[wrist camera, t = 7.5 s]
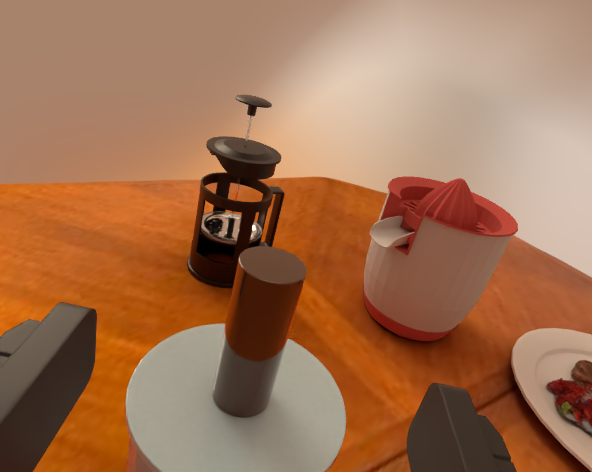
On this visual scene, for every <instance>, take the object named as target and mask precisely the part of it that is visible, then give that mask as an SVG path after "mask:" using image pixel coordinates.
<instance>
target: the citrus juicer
mask: <svg viewBox="0 0 592 472" xmlns="http://www.w3.org/2000/svg"><path fill="white" fill-rule="evenodd" d="M388 189H389V191H388V194H387V197H386V199H385V202H384V205H383V208H382V211H381V214H380V217H379V220H378V222H376V223H375V224H374V225H373V226H372V228H371V230H370V236H371V238H372V240H371V243H370V246H369V250H368V254H367V258H366V265H365V272H364V285H363V292H364V301H365V306H366V308H367V310H368V312H369V313H370V314H371V316H372V317H373V318H374V319H375V320H376V321H377V322H378V323H380V324H381V325H382V326H384V327H385V328H387V329H388V330H390V331H392V332H394V333H396V334H397V335H398V336H401V337H406V338H409V339H413V340H418V341H435V340H438V339H441V338H442V337H444V336H445V335H447V334H448V333H449V332H451V331H452V330H453V329H455V328H456V327H457V325H458V324H459V323H460V322H461V321H462V320H463V319H464V318H465V317H466V316H467V314H468V313H469V312H470V311H471V309H472V308H473V307H474V306H475V304H476V303H477V301H478V300H479V298H480V296H481V295H482V293H483V291H484V290H485V288H486V286H487V284H488V282H489V280H490V278H491V276H492V274H493V272H494V270H495V268H496V266H497V264H498V262H499V260H500V258H501V256H502V254H503V252H504V250H505V248H506V246H507V244H508V242H509V240H510V238H511V236H512V235H513V234H515V233H516V232H517V231H518V224H517V222H516V221H515V219H514V218H513V217H512V216H511V215H510V214H509V213H508V212H506V211H505V210H504V209H503V208H501V207H499V206H498V205H496V204H495V203H493V202H491V201H489V200H487V199H485V198H483V197H481V196H479V195H477V194H475V193H472V192H471V191H470V189H469V187H468V185H467V183H466V182H465V180H463V179H460V178H459V179H455V180H453V181H450V182H448V183H444V182H440V181H436V180H431V179H425V178H420V177H398V178H395V179H392V181H390V183H389V184H388Z"/></svg>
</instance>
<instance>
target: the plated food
mask: <svg viewBox="0 0 592 472" xmlns="http://www.w3.org/2000/svg"><path fill="white" fill-rule="evenodd" d="M511 365H512V369H513V373H514V377H515V380H516V382H517V384H518V386H519V388H520V390H521V392H522V394H523V396H524V398H525V400H526V401H527V403H528V404H529V406H530V407H531V408H532V410H533V411H534V413H535V414H536V415H537V417H538V418H539V420H540V421H541V422H542V423H543V425H544V426H545V427H546V428H547V429H548V430H549V431H550V432H551V433H552V434H553V436H554V437H555V438H556V439H557V440H558V441H559V442H560V443H561V444H562V446H563V447H564V448H566V449H567V450H568V451H569V452H570V453H571V454H572V455H573V456H574V457H575V458H577V459H578V460H579V461H580V462H581V463H582V464H583V465H584V466H585V467H586V468H588V469H589V470H590V471H591V472H592V335H591V334H586V333H582V332H578V331H574V330H567V329H558V328H546V329H537V330H534V331H530V332H527V333H526V334H524V335H523V336H521V337H520V338H519V339H518V340H517V342H516V344H515V346H514V348H513V349H512V356H511Z"/></svg>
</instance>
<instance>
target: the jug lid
mask: <svg viewBox="0 0 592 472" xmlns="http://www.w3.org/2000/svg"><path fill="white" fill-rule="evenodd" d="M305 276H306V267H305V265H304V263H303V262H302V261H301V260H300V259H299V258H298V257H296V256H295V255H293V254H291V253H289V252H287V251H285V250H282V249H278V248H274V247H267V246H257V247H252V248H248V249H246V250H244V251H243V252H242V253H241V254H240V256H239V259H238V264H237V269H236V274H235V279H234V284H233V289H232V294H231V299H230V304H229V308H228V313H227V318H226V323H225V324H210V325H203V326H198V327H194V328H190V329H187V330H184V331H181V332H179V333H177V334H174V335H172V336H170V337H168V338H167V339H165V340H163V341H162V342H160V343H159V344H157V345H156V346H155V347H154V348H153V349H151V350H150V351H149V352H148V353H147V354H146V355H145V356H144V357H143V359H142V360H141V361H140V363H139V364H138V366H137V367H136V368H135V370H134V372H133V374H132V376H131V379H130V381H129V385H128V388H127V393H126V402H125V419H126V425H127V429H128V434H129V436H130V439H131V441H132V443H133V446H134V448H135V449H136V451H137V453H138V454H139V456H140V457H141V459H142V460H143V462H144V463H145V464H146V465H147V466H148V467H149V468H150V470H151V471H152V472H328V471H329V469H330V468H331V466H332V465H333V463H334V462H335V460H336V458H337V455H338V453H339V451H340V449H341V446H342V444H343V440H344V436H345V430H346V412H345V406H344V402H343V398H342V395H341V393H340V390H339V388H338V386H337V384H336V382H335V380H334V379H333V377H332V376H331V374H330V373H329V371H328V370H327V369H326V368H325V366H324V365H323V364H322V363H321V362H320V361H319V360H318V359H317V358H316V357H315V356H314V355H312V354H311V353H310V352H309V351H307V350H306V349H305V348H303V347H302V346H300V345H299V344H297V343H295V342H294V341H292V340H290V339H288V335H289V332H290V328H291V325H292V321H293V318H294V314H295V311H296V307H297V304H298V300H299V297H300V293H301V290H302V286H303V283H304V279H305Z"/></svg>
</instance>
